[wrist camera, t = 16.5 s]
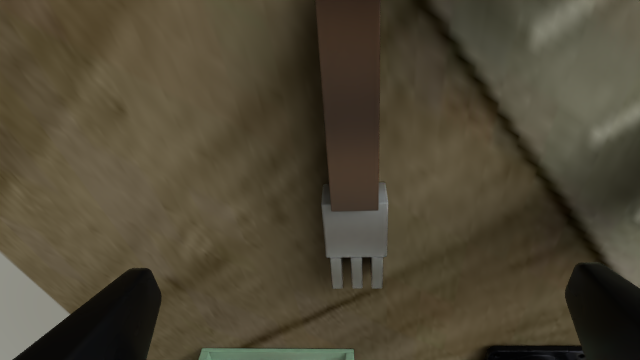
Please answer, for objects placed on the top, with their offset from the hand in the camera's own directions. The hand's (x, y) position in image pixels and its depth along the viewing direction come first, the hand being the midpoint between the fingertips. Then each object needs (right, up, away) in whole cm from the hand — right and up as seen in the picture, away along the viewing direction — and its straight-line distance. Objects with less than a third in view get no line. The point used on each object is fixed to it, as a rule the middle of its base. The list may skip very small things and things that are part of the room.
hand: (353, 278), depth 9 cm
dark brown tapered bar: (+1, +4, +11) cm, 11 cm away
